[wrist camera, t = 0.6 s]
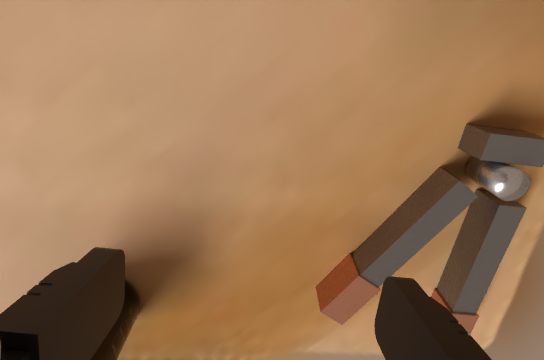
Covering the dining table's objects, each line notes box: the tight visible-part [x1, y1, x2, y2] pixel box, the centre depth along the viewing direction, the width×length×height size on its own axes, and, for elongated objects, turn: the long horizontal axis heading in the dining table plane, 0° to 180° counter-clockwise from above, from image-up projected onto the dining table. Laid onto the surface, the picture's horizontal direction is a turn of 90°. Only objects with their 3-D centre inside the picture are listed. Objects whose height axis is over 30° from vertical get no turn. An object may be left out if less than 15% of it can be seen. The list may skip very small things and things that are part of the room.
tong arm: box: [316, 167, 478, 325], centre depth 28 cm, size 16×3×3 cm, turn 143°
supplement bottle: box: [91, 282, 140, 360], centre depth 26 cm, size 7×7×12 cm
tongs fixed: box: [431, 124, 544, 335], centre depth 28 cm, size 21×5×4 cm, turn 173°
